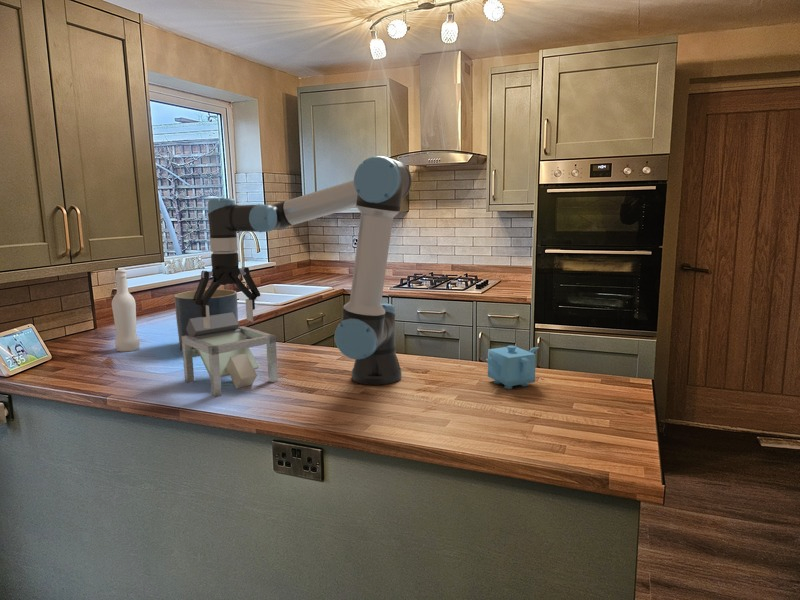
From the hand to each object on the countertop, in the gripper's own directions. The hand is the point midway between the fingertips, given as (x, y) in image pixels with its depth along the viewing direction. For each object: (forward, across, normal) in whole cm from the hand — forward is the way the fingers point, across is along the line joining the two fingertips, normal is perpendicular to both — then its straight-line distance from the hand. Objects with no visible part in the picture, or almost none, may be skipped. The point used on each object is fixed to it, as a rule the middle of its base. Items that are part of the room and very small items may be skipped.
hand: (229, 324), depth 164 cm
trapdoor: (+9, 0, -7) cm, 12 cm away
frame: (+18, 0, -1) cm, 18 cm away
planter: (+18, -15, -48) cm, 53 cm away
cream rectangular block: (+10, 0, +2) cm, 11 cm away
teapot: (+18, -57, +61) cm, 85 cm away
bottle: (+18, +9, -65) cm, 68 cm away
